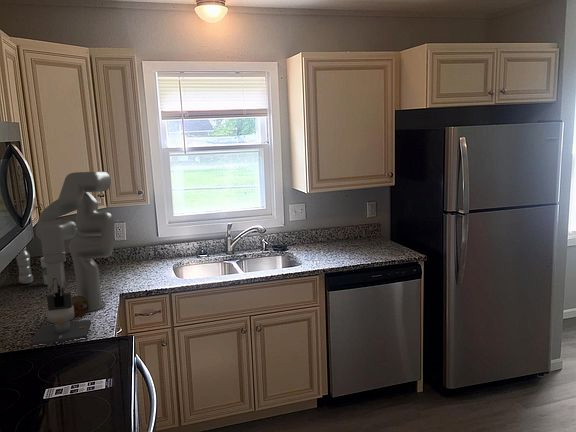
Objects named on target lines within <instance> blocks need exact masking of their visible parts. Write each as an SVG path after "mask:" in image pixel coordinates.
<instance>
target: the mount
mask: <svg viewBox="0 0 576 432" xmlns="http://www.w3.org/2000/svg"><path fill="white" fill-rule="evenodd" d="M90 324H91V325H92V319H86V320H85V319H84V320H76V321H70V320H69V321H66V322H61V323H51V324H46V325H41V326H40V328H39V329H38V331H37V333H36V336H35V337H34V339H33V340H32V346H33V345H39V344H49V345H51V344H50V343H56V342H64V341H69V340H74V339H80V338H87V339H88V336H87V334H88V335H89V333H88V331H89V332H90V329H89V328H91V325H90ZM64 343H65V342H64Z"/></svg>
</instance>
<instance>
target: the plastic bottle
mask: <svg viewBox="0 0 576 432" xmlns="http://www.w3.org/2000/svg"><path fill="white" fill-rule="evenodd" d="M15 259H16V263H17V267H18V282H19V283H20V284H23V285H27V284H30V283H32V282H33V281H34V276H33V274H32V269H31V254H30V253H29V251H27V246H26V247H25V248H24V249H23V250H22V251H21V252H20V254H18V256H17V257H16V256H15Z"/></svg>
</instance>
